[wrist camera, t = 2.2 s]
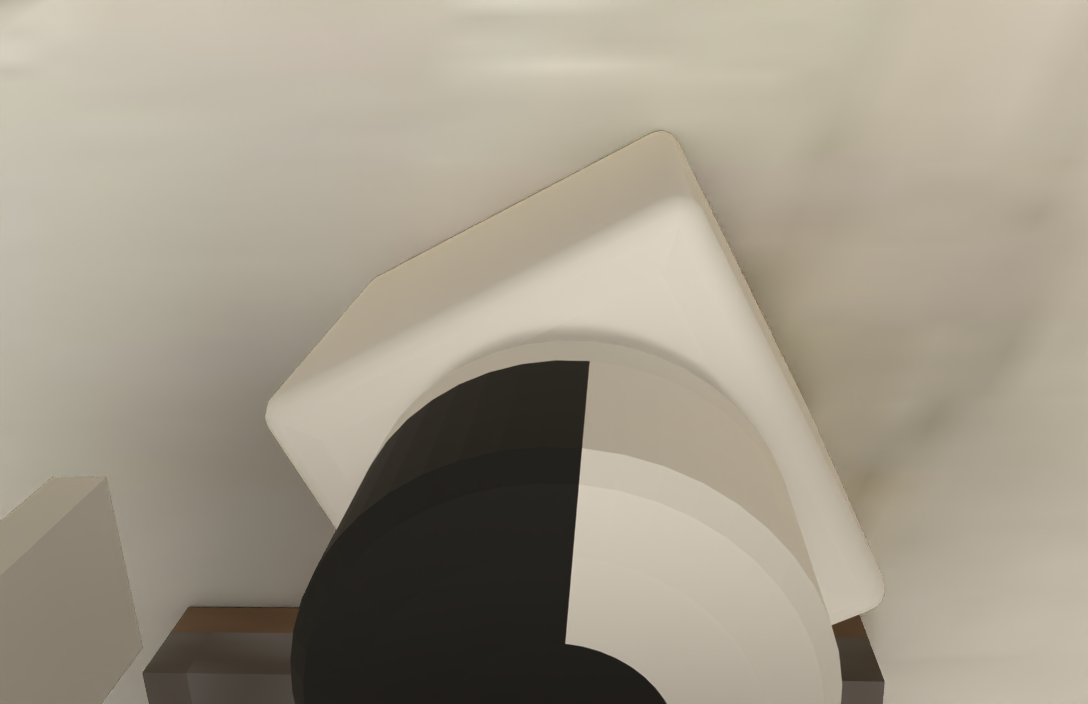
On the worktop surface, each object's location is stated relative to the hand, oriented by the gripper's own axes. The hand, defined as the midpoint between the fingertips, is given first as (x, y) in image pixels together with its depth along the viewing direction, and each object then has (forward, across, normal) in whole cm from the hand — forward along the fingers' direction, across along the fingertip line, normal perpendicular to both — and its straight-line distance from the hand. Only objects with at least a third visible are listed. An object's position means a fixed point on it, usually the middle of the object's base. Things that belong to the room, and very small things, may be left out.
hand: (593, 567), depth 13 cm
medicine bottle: (+9, 0, 0) cm, 9 cm away
